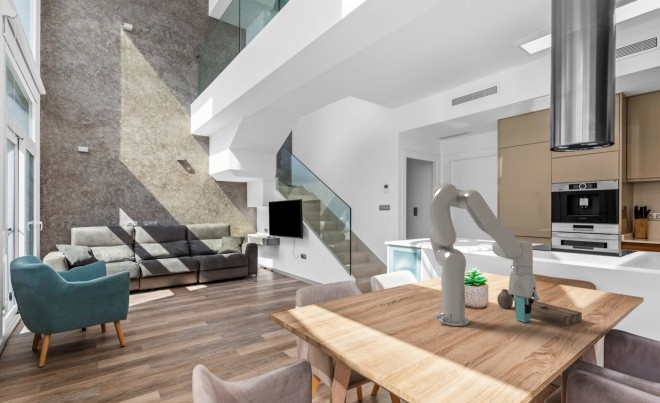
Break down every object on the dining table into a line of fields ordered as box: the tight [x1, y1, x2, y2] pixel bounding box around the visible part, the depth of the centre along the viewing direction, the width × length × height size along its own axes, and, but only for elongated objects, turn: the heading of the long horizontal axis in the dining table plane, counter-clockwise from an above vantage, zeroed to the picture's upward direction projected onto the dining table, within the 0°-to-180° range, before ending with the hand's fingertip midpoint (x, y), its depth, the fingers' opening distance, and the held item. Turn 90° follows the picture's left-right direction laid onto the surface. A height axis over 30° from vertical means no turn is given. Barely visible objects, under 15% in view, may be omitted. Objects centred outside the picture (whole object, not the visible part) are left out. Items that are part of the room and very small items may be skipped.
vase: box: [496, 288, 514, 310], centre depth 168 cm, size 7×7×9 cm
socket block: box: [530, 300, 583, 328], centre depth 153 cm, size 14×20×4 cm
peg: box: [515, 295, 531, 323], centre depth 148 cm, size 4×4×12 cm
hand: (522, 311), depth 148 cm, fingers closed on peg, 4 cm apart
